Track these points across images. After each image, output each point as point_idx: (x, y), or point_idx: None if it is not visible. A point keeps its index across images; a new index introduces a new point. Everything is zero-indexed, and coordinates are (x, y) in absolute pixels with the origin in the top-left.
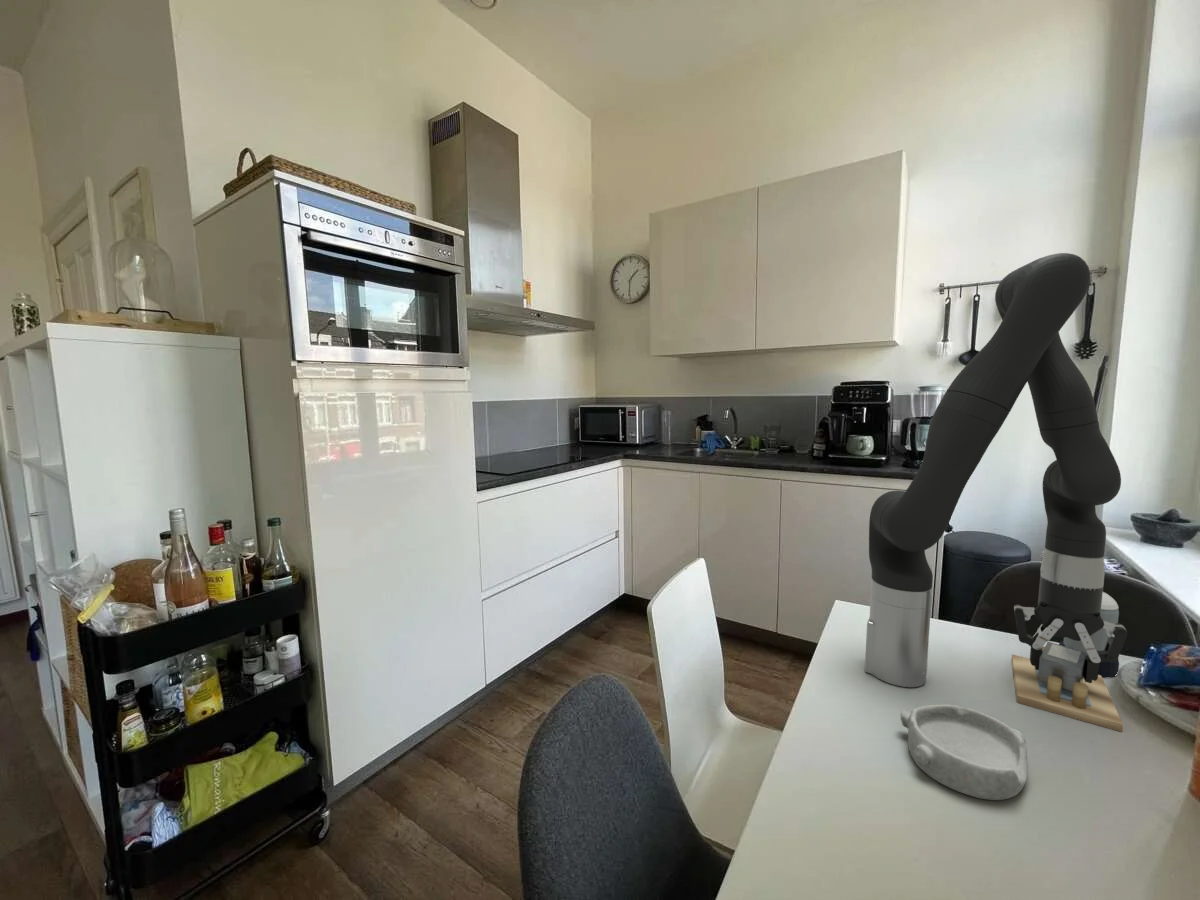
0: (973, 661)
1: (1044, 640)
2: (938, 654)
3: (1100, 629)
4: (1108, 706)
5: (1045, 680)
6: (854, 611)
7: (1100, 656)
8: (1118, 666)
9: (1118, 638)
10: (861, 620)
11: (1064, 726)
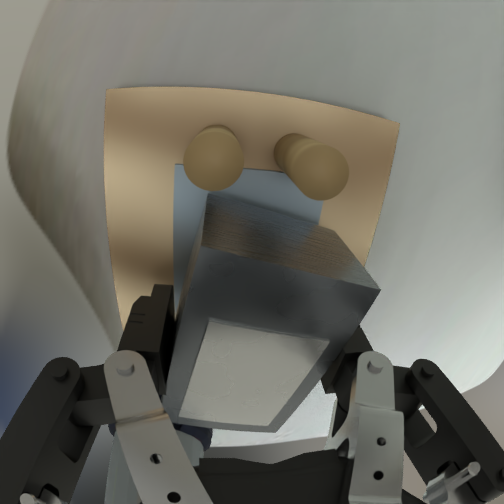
0: (407, 314)
1: (364, 403)
2: (460, 301)
3: (132, 493)
4: (122, 204)
5: (316, 227)
6: (492, 366)
7: (104, 386)
8: None
9: (6, 482)
10: (501, 345)
11: (283, 25)
